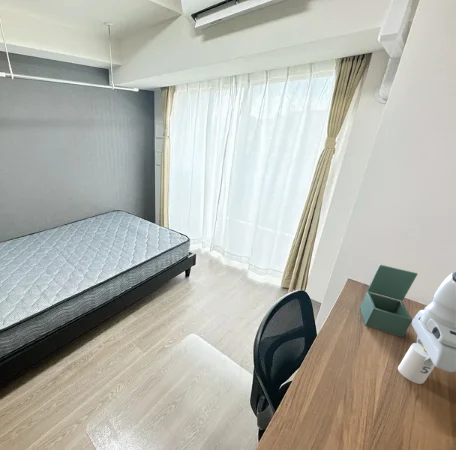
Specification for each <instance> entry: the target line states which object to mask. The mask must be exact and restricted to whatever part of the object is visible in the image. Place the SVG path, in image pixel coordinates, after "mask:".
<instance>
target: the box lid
mask: <svg viewBox="0 0 456 450" xmlns="http://www.w3.org/2000/svg"><path fill="white" fill-rule="evenodd" d="M417 276H418V272H414V271H409V270H406V269H401V268H397V267H392V266H388V265H384V264H378V267H377V269H376V271H375V273H374V275H373V277H372V279H371V282H370V284H369V285H368V288H367V292H370V293H374V294H377V295H381V296H384V297H388V298H392V299H395V300H399V301H402V302H403V301H404V299H405V297H406V295H408V292H409V290H410V289H411V287H412V285H413V284H414V281H415V280H416V278H417Z"/></svg>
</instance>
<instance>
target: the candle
mask: <svg viewBox="0 0 456 450" xmlns="http://www.w3.org/2000/svg"><path fill="white" fill-rule="evenodd" d="M427 355H428V353H427V352H426V350H425V348H424V346H423V345H422V344H419V343H417V342H412V344H411V345H410V347H409V349H408V350H407V351H406V353H405V354H404V357H403V358H402V360H401V361H400V363H399V365H398V366H397V370H398V372H399V374H401V375H402V376H403V377H404V378H405V379H407V380H408V381H410V382H412V383H415V384H419V385H422V384H424V383H425V382H426V380H427V379H428V377H429V376H430V375H431V373H432V371H433V370H434V369H435V368H436V367H435V366H434V364H433V365H432V366H431V367H429V366H426V365H424V364H423V361H424V359H425V358H427V357H428V356H427Z"/></svg>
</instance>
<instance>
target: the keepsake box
mask: <svg viewBox="0 0 456 450" xmlns="http://www.w3.org/2000/svg"><path fill="white" fill-rule="evenodd" d="M359 310H360V313H361V316H362V318H363V319H362V320H363V322H364V325H365V326H366V327H369V328H372V329H375V330H379V331H382V332H385V333H387V334H390V335H393V336H397V337H399V338H403V337H405V334H406V332H407V331H408V329H409V328H410V325H412V320H413V318H412V316H411V315H410V313H409V311H408V309H407V307H406V306H405V304H404V302H403V301H401V300H398V299H394V298H390V297H387V296H383V295H379V294H376V293H372V292H369V291H367V292H366V293H365V295H364V297H363V300H362V302H361V304H360V306H359Z"/></svg>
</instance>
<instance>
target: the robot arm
mask: <svg viewBox="0 0 456 450" xmlns="http://www.w3.org/2000/svg"><path fill="white" fill-rule="evenodd" d="M411 326H412V328H413V330H414V332H415V333H416V335H417V337H416V343H419V344H422V345H423V346H424V348H425V350H426V352H427V353H428V355H427V356H428V357H427V358H425V359H424V361H423V364H424V365H426V366H429V367H431V366H432V365H433V364H434V366H435V367H434V368H436V369H439V370H442V371H444V372H448V373H455V372H456V271H455V272H452V273H450V274H449V275H448V276H446V278H444V280H443V281H442V282H441V284H440V285H439V286H438V287H437V289H436V291H435V292H434V294H433V299H432V302H430V303H429V304H427V306H425V307H424V309H420V310H418V311H417V313H416V314H415V316H414V317H413V318H412V322H411Z"/></svg>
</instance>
